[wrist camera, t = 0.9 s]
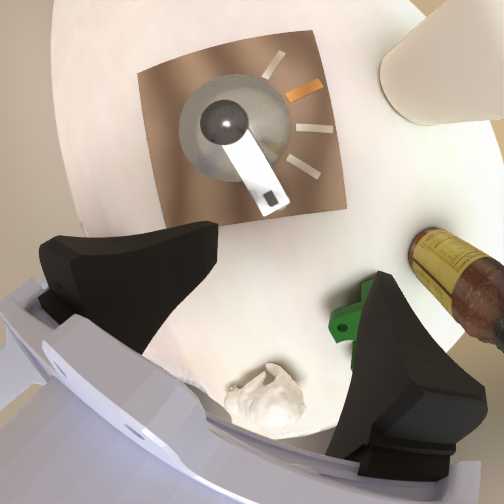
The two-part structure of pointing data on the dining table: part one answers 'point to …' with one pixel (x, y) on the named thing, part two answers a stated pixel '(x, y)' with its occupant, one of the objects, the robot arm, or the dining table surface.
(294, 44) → the dial plate
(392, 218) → the dining table surface
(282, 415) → the white lumpy piece
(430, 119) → the white bottle
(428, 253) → the sauce bottle
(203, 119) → the dial
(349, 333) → the clamp
